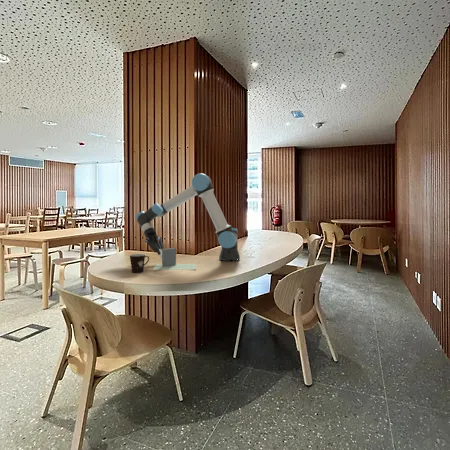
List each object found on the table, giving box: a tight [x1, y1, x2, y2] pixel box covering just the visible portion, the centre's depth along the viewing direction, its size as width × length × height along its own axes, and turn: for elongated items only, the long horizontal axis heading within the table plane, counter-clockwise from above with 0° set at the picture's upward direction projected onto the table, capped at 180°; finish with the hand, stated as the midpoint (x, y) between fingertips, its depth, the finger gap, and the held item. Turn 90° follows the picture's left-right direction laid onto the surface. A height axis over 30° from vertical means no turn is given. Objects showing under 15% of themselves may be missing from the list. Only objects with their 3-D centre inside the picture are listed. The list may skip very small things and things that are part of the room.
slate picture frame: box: [161, 247, 177, 267], centre depth 200 cm, size 3×9×11 cm, turn 137°
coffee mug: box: [129, 253, 150, 274], centre depth 184 cm, size 12×9×10 cm
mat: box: [152, 263, 197, 271], centre depth 197 cm, size 26×18×1 cm
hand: (163, 257), depth 203 cm, fingers closed
